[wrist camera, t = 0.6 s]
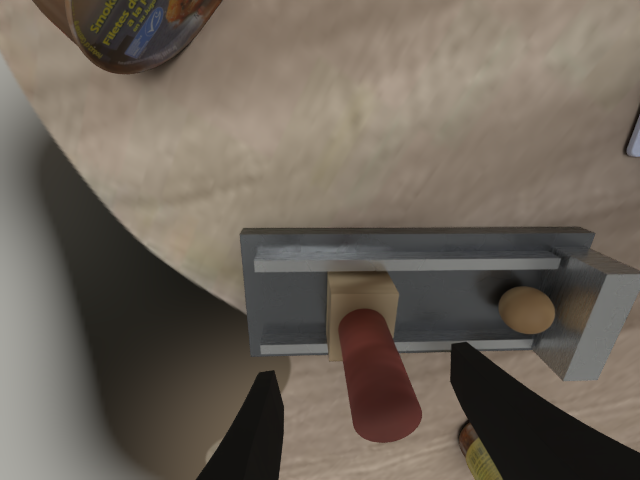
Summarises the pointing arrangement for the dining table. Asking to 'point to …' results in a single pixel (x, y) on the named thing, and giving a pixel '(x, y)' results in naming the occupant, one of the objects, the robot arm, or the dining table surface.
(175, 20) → the tin
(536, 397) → the robot arm
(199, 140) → the dining table surface
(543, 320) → the nut
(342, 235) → the base
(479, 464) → the sauce bottle
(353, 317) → the press slider
